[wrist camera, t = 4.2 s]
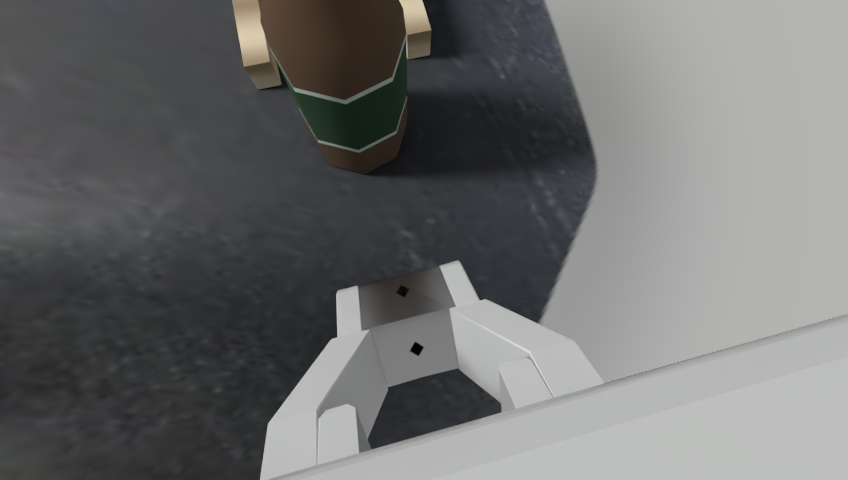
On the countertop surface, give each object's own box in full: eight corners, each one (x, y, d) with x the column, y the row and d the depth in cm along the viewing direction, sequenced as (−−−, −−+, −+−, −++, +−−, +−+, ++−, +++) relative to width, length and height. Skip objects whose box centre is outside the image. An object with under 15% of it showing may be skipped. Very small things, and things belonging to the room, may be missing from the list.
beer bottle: (426, 126, 35) (459, -317, 11) (368, 196, 33) (265, -154, 10) (354, 75, 36) (246, -430, 12) (293, 141, 34) (37, -299, 11)
